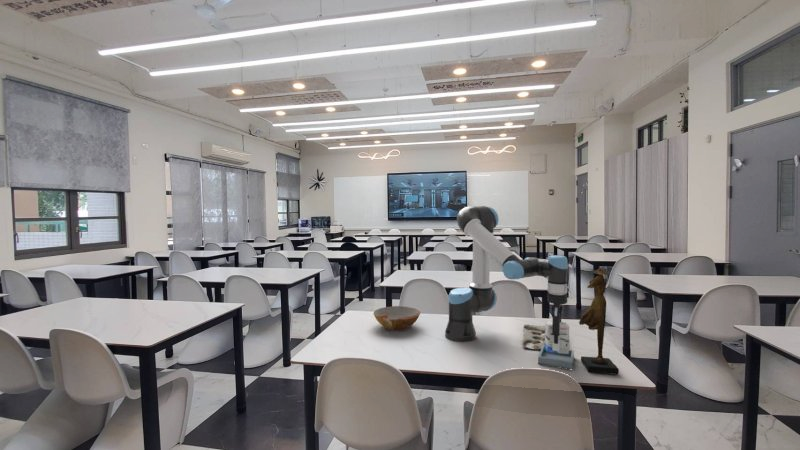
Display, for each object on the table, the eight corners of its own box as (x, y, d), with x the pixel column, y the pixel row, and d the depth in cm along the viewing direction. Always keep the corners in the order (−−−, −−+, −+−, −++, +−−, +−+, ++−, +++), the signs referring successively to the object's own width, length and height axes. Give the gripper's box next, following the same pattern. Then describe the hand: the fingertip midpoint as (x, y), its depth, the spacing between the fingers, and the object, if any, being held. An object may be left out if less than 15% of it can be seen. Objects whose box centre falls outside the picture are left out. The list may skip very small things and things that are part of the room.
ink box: (547, 352, 152) (547, 324, 152) (544, 348, 157) (544, 321, 156) (569, 354, 151) (569, 325, 150) (566, 349, 155) (566, 322, 155)
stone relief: (522, 350, 167) (570, 354, 160) (521, 344, 167) (570, 348, 160) (523, 328, 197) (564, 331, 191) (523, 323, 197) (564, 326, 190)
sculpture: (583, 373, 142) (585, 270, 140) (575, 361, 153) (576, 266, 151) (619, 375, 140) (622, 271, 138) (608, 363, 151) (610, 266, 149)
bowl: (367, 333, 189) (367, 317, 188) (380, 318, 213) (380, 305, 213) (415, 336, 183) (415, 321, 183) (423, 321, 208) (423, 307, 207)
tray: (538, 363, 151) (538, 356, 151) (542, 352, 163) (542, 345, 163) (571, 370, 145) (572, 362, 145) (573, 357, 157) (573, 350, 157)
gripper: (565, 299, 142) (564, 357, 143) (568, 289, 159) (568, 341, 160) (545, 297, 146) (544, 354, 147) (550, 287, 163) (549, 339, 164)
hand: (556, 347), depth 154 cm, fingers closed on ink box, 6 cm apart
